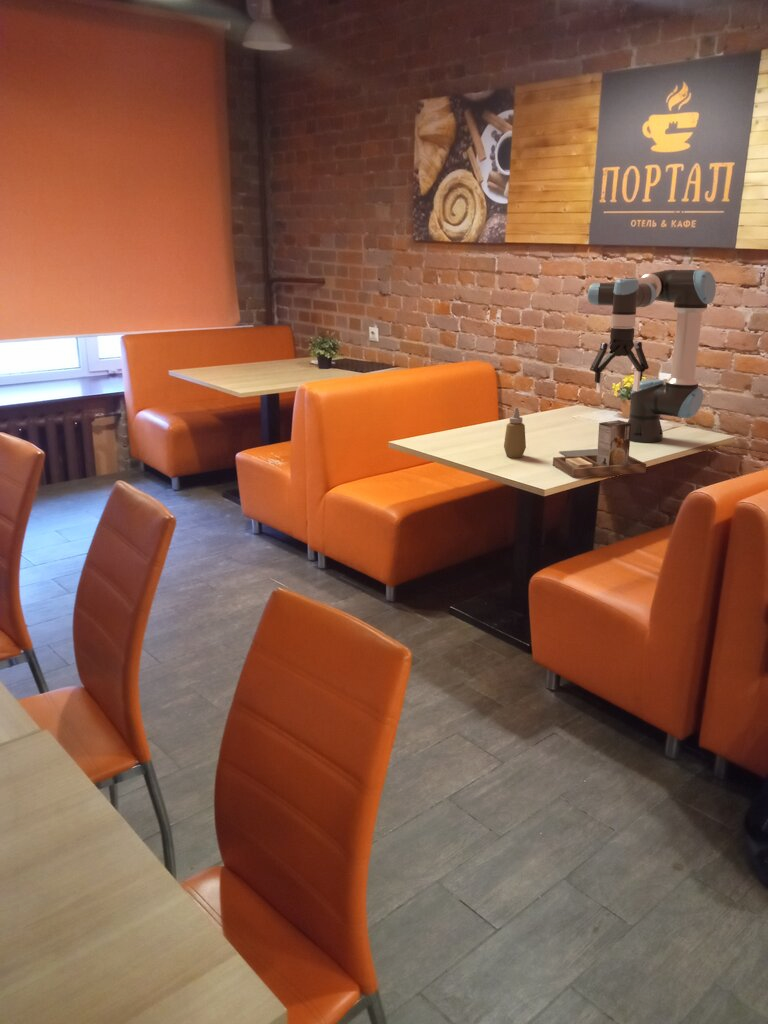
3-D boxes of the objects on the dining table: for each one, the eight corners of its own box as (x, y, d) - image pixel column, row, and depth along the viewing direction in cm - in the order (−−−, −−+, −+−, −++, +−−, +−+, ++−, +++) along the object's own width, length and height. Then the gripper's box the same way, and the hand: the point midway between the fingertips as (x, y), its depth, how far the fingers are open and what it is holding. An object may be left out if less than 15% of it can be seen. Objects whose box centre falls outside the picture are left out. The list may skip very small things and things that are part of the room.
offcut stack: (580, 467, 288) (580, 457, 287) (594, 474, 279) (594, 464, 278) (564, 468, 286) (565, 458, 285) (578, 475, 278) (578, 465, 276)
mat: (603, 449, 310) (603, 448, 310) (620, 458, 298) (620, 456, 298) (559, 452, 306) (559, 451, 306) (574, 461, 294) (574, 459, 294)
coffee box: (615, 464, 290) (618, 419, 285) (628, 468, 285) (632, 422, 280) (595, 467, 286) (598, 422, 281) (608, 472, 280) (612, 425, 275)
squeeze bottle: (501, 453, 305) (502, 406, 300) (522, 453, 306) (524, 405, 300) (506, 459, 298) (508, 410, 292) (528, 458, 298) (530, 409, 293)
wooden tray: (621, 460, 295) (622, 452, 294) (645, 472, 279) (646, 464, 278) (552, 465, 289) (553, 457, 288) (573, 477, 274) (573, 469, 273)
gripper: (651, 325, 276) (645, 388, 283) (582, 327, 271) (578, 391, 278) (663, 327, 270) (656, 391, 276) (593, 329, 264) (588, 395, 271)
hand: (617, 391), depth 277 cm, fingers open, 13 cm apart
